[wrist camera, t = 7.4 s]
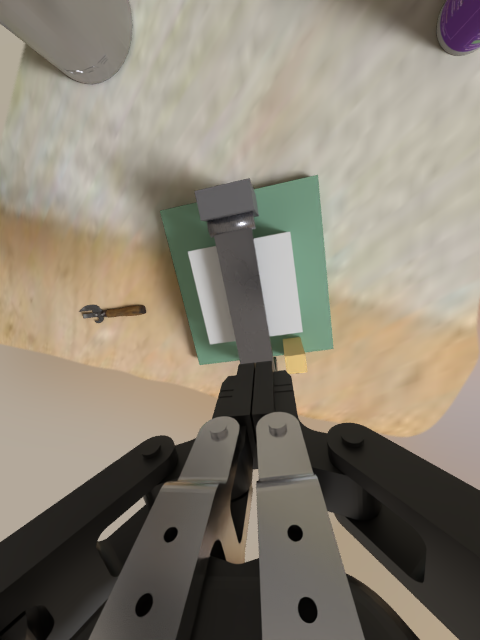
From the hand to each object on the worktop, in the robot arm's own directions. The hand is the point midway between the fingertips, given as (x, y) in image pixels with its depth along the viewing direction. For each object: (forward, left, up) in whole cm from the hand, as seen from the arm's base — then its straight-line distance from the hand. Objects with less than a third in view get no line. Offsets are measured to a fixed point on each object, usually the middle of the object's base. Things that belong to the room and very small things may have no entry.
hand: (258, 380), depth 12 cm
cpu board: (-2, -1, -19) cm, 19 cm away
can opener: (-1, -19, -20) cm, 28 cm away
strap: (0, -1, -17) cm, 17 cm away
